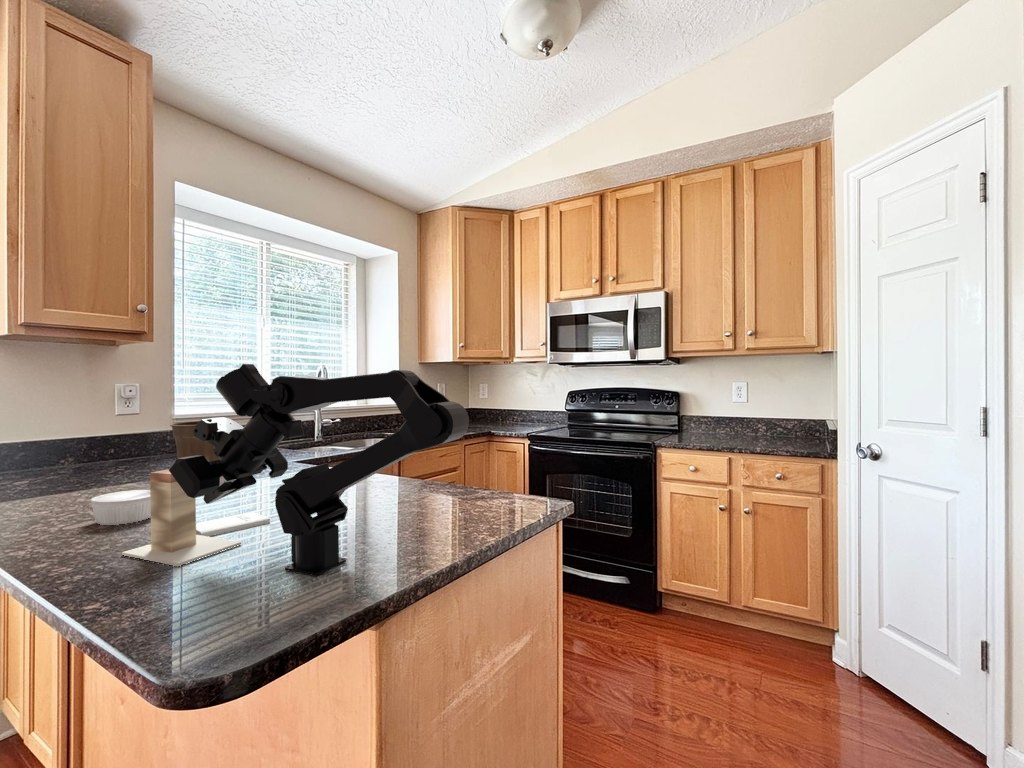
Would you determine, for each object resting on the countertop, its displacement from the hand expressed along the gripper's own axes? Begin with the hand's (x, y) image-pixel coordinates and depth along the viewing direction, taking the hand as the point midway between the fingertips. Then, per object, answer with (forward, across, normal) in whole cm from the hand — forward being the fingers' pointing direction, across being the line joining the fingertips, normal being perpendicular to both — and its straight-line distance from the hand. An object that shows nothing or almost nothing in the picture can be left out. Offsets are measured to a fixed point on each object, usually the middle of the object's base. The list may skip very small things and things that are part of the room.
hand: (206, 501), depth 82 cm
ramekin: (+32, -12, -19) cm, 39 cm away
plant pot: (+56, -60, -43) cm, 93 cm away
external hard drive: (+14, -14, 0) cm, 20 cm away
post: (+11, 0, +1) cm, 11 cm away
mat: (+10, 0, +2) cm, 11 cm away
